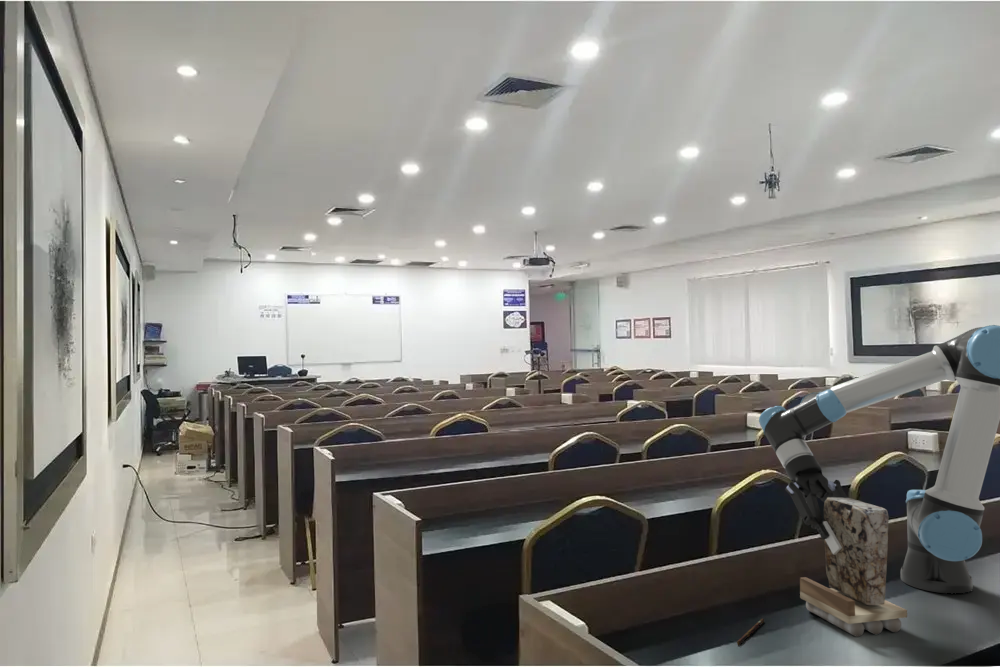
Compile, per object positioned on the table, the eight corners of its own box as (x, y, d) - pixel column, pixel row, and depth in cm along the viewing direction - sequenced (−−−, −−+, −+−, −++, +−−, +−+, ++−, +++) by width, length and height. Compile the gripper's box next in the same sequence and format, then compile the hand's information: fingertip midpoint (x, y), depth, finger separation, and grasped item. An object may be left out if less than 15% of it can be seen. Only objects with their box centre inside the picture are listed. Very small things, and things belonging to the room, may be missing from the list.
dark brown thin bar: (739, 647, 134) (738, 642, 134) (736, 646, 134) (736, 641, 134) (764, 623, 145) (763, 618, 145) (761, 622, 146) (761, 618, 146)
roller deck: (854, 605, 154) (853, 572, 154) (907, 632, 139) (906, 595, 140) (800, 611, 151) (799, 577, 151) (849, 639, 136) (848, 601, 137)
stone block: (893, 604, 141) (892, 507, 141) (867, 608, 139) (866, 510, 139) (842, 582, 153) (841, 494, 153) (817, 586, 151) (817, 496, 151)
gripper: (825, 469, 168) (877, 555, 152) (758, 473, 164) (804, 561, 148) (839, 451, 163) (895, 537, 147) (771, 454, 159) (820, 544, 143)
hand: (849, 549), depth 147 cm, fingers open, 5 cm apart
